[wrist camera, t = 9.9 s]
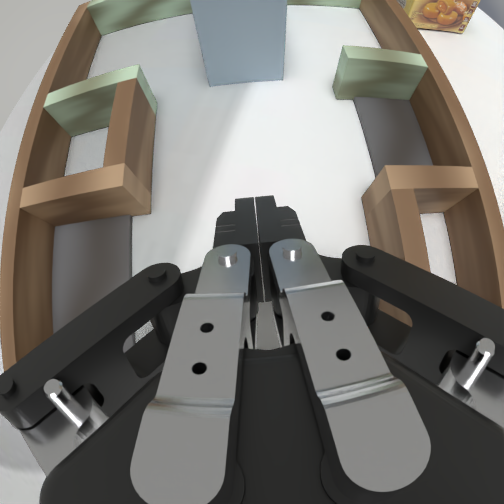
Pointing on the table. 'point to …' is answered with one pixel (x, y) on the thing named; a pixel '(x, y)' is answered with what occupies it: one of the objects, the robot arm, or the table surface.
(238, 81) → the brick
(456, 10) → the candy box
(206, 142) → the table surface
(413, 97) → the frame
